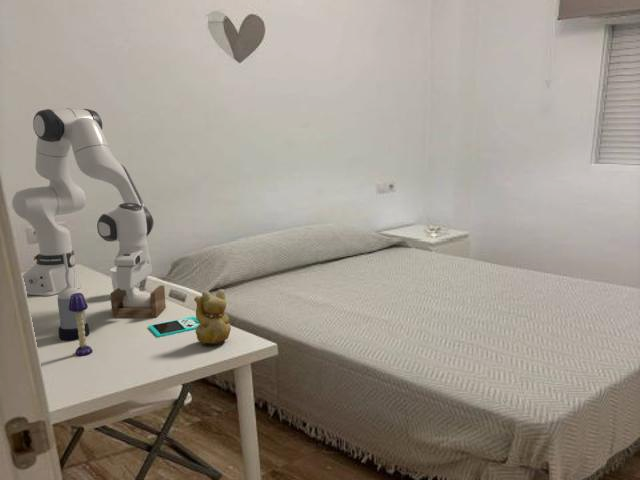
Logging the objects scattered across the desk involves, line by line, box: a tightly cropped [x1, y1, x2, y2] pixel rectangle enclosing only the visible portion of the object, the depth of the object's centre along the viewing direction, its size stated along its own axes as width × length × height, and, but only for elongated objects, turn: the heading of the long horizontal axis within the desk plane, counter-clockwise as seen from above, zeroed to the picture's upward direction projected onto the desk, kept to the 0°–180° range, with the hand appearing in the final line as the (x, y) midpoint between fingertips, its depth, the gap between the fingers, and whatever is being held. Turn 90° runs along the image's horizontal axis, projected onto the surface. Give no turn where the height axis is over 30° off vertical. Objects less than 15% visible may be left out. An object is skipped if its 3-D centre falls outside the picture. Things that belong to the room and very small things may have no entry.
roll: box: [123, 294, 152, 308], centre depth 180 cm, size 10×5×5 cm, turn 87°
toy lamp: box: [69, 292, 93, 357], centre depth 147 cm, size 5×5×17 cm
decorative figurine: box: [194, 288, 232, 348], centre depth 153 cm, size 10×8×15 cm
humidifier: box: [57, 252, 90, 342], centre depth 159 cm, size 8×8×25 cm
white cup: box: [109, 266, 135, 293], centre depth 199 cm, size 8×8×10 cm
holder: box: [109, 285, 167, 319], centre depth 180 cm, size 14×9×8 cm, turn 87°
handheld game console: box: [148, 316, 200, 338], centre depth 168 cm, size 10×16×1 cm, turn 122°
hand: (137, 295), depth 180 cm, fingers open, 8 cm apart
